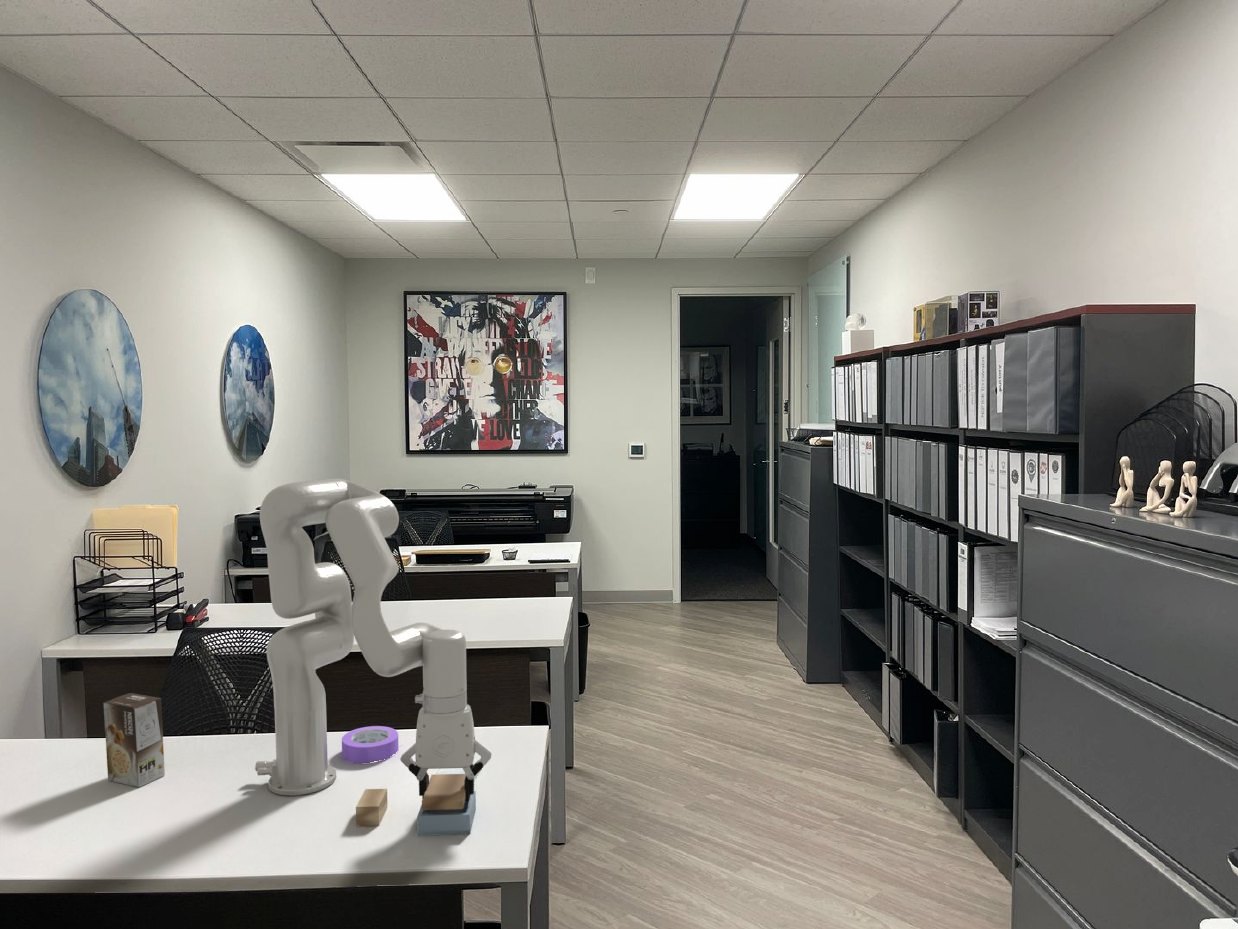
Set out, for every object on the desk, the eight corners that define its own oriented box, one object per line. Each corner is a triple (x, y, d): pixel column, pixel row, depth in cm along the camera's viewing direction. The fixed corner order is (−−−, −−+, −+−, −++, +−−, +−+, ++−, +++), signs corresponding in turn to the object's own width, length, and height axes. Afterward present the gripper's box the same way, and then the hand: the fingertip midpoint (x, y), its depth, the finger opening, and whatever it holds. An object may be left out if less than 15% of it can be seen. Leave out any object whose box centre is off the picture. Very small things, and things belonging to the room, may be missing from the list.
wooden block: (356, 826, 153) (355, 807, 152) (365, 807, 160) (365, 789, 159) (379, 825, 153) (378, 806, 153) (387, 807, 160) (387, 788, 160)
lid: (421, 810, 148) (421, 801, 148) (431, 783, 159) (431, 774, 159) (462, 809, 149) (462, 800, 149) (470, 782, 159) (469, 773, 159)
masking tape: (407, 744, 190) (407, 727, 189) (384, 766, 178) (383, 748, 178) (357, 741, 192) (357, 724, 191) (331, 762, 180) (331, 744, 180)
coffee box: (166, 775, 174) (163, 697, 173) (138, 788, 168) (134, 708, 167) (134, 768, 177) (130, 691, 176) (105, 780, 171) (101, 702, 170)
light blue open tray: (417, 835, 149) (417, 816, 149) (426, 811, 158) (426, 792, 158) (470, 834, 150) (469, 814, 150) (475, 809, 159) (475, 791, 159)
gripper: (391, 709, 148) (393, 810, 150) (492, 707, 149) (493, 807, 151) (399, 695, 156) (401, 790, 157) (496, 693, 157) (497, 788, 158)
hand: (446, 797), depth 154 cm, fingers closed on lid, 6 cm apart
